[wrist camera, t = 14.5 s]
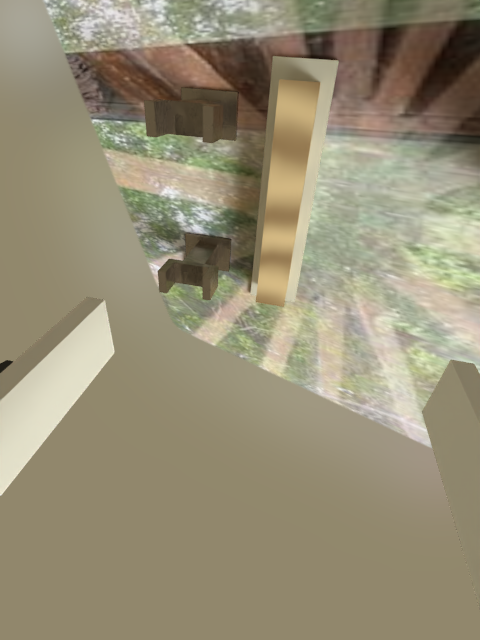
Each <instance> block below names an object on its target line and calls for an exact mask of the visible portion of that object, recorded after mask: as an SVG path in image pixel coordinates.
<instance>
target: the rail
mask: <svg viewBox="0 0 480 640" xmlns="http://www.w3.org/2000/svg"><path fill="white" fill-rule="evenodd" d="M320 85H321V83H320V82H309V81H296V80H283V79H279V88H278V97H277V107H276V116H275V126H274V135H273V144H272V154H271V163H270V173H269V182H268V192H267V201H266V211H265V220H264V229H263V239H262V248H261V258H260V267H259V277H258V286H257V295H256V302H259V303H265V304H271V305H277V306H283V307H284V303H285V298H286V292H287V287H288V281H289V275H290V268H291V262H292V256H293V250H294V244H295V238H296V232H297V226H298V220H299V213H300V207H301V201H302V195H303V189H304V183H305V177H306V171H307V164H308V158H309V152H310V146H311V140H312V134H313V128H314V122H315V115H316V109H317V103H318V97H319V91H320Z"/></svg>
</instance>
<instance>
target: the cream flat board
mask: <svg viewBox="0 0 480 640" xmlns="http://www.w3.org/2000/svg"><path fill="white" fill-rule="evenodd" d="M338 62H339V61H337V60H323V59H308V58H293V57H279V56H273V61H272V71H271V82H270V93H269V103H268V114H267V124H266V135H265V146H264V156H263V167H262V177H261V188H260V199H259V209H258V220H257V231H256V241H255V252H254V262H253V273H252V284H251V294H250V295H254V296H256V295H257V286H258V277H259V267H260V258H261V248H262V239H263V229H264V220H265V211H266V201H267V192H268V182H269V173H270V163H271V154H272V144H273V135H274V126H275V116H276V107H277V97H278V88H279V79H283V80H296V81H309V82H320V83H321V85H320V91H319V97H318V103H317V109H316V115H315V122H314V128H313V134H312V140H311V146H310V152H309V158H308V164H307V171H306V177H305V183H304V189H303V195H302V201H301V207H300V213H299V220H298V226H297V232H296V238H295V244H294V250H293V256H292V262H291V268H290V275H289V281H288V287H287V292H286V298H285V301H291V302H295V298H296V292H297V287H298V281H299V276H300V270H301V265H302V259H303V254H304V248H305V243H306V237H307V232H308V227H309V221H310V216H311V210H312V205H313V199H314V194H315V188H316V183H317V177H318V172H319V166H320V161H321V155H322V150H323V144H324V139H325V133H326V128H327V122H328V117H329V112H330V106H331V101H332V95H333V90H334V84H335V79H336V73H337V68H338Z"/></svg>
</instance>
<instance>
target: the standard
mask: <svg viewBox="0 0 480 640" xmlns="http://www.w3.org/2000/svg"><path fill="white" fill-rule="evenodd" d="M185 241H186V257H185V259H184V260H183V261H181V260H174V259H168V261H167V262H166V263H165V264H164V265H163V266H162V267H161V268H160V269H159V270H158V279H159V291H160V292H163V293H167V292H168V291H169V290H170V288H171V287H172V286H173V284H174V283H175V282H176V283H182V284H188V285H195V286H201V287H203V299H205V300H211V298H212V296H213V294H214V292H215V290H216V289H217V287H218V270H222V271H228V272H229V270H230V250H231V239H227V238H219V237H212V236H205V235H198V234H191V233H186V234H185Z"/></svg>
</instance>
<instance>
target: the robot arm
mask: <svg viewBox="0 0 480 640" xmlns="http://www.w3.org/2000/svg"><path fill="white" fill-rule="evenodd" d="M113 354H114V346H113V341H112V336H111V331H110V325H109V320H108V315H107V310H106V304H105V300H103V299H97V298H91V297H86V298H85V299H84V300H83V301H82V302H81V303H80V304H78V305H77V306H76V307H75V308H74V309H73V310H72V311H70V312H69V313H68V314H67V315H66V316H65V317H64V318H63V319H62V320H60V321H59V322H58V323H57V324H56V325H55V326H53V327H52V328H51V329H50V330H49V331H48V332H47V333H46V334H44V335H43V336H42V337H41V338H40V339H39V340H38V341H37V342H35V343H34V344H33V345H32V346H31V347H30V348H29V349H27V350H26V351H25V352H24V353H23V354H22V355H21V356H20V357H18V358H17V359H16V360H15V361H14V362H13V361H8V360H7V361H5V362H3V363H1V364H0V495H2V494H3V492H4V491H5V490H6V489H7V487H8V486H9V485H10V484H11V482H12V481H13V480H14V478H15V477H16V476H17V475H18V473H19V472H20V471H21V470H22V468H23V467H24V466H25V464H26V463H27V462H28V461H29V460H30V458H31V457H32V456H33V454H34V453H35V452H36V451H37V449H38V448H39V447H40V446H41V444H42V443H43V442H44V441H45V439H46V438H47V437H48V436H49V434H50V433H51V432H52V431H53V429H54V428H55V427H56V426H57V424H58V423H59V422H60V421H61V419H62V418H63V417H64V416H65V414H66V413H67V412H68V410H69V409H70V407H72V405H73V404H74V403H75V402H76V400H77V399H78V398H79V396H80V395H81V394H82V393H83V391H84V390H85V389H86V388H87V387H88V385H89V384H90V383H91V381H92V380H93V379H94V378H95V376H96V375H97V374H98V373H99V371H100V370H101V369H102V367H103V366H104V365H105V364H106V363H107V361H108V360H109V359H110V358H111V356H112V355H113ZM422 414H423V417H424V420H425V424H426V427H427V431H428V434H429V437H430V441H431V444H432V448H433V451H434V454H435V458H436V461H437V465H438V468H439V472H440V475H441V478H442V482H443V485H444V489H445V492H446V495H447V499H448V502H449V506H450V509H451V513H452V516H453V519H454V523H455V526H456V530H457V533H458V537H459V540H460V543H461V547H462V550H463V554H464V557H465V560H466V564H467V567H468V570H469V574H470V577H471V581H472V584H473V587H474V591H475V595H476V598H477V601H478V604H479V608H480V374H479V372H478V370H477V368H476V366H475V365H474V364H473V363H467V362H461V361H455V360H450V362H449V364H448V366H447V368H446V369H445V371H444V373H443V375H442V377H441V378H440V380H439V382H438V384H437V386H436V388H435V389H434V391H433V393H432V395H431V397H430V398H429V400H428V402H427V404H426V406H425V407H424V409H423V411H422Z"/></svg>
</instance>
